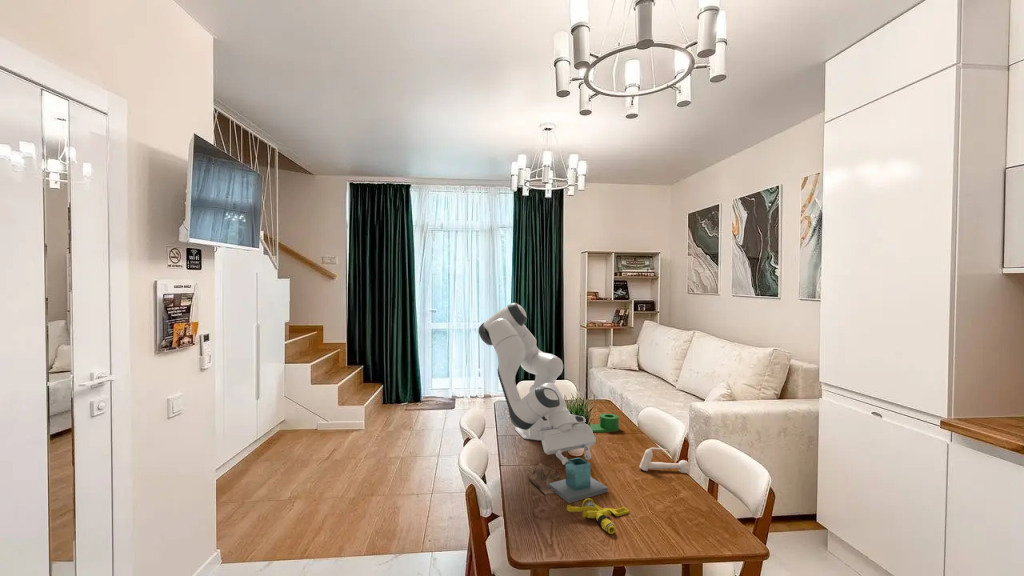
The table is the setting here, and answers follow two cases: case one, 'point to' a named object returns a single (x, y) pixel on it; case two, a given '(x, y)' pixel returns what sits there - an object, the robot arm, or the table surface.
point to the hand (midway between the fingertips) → (577, 461)
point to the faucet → (661, 463)
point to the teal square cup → (578, 474)
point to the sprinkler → (599, 513)
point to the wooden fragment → (544, 478)
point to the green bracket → (606, 423)
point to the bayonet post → (573, 495)
